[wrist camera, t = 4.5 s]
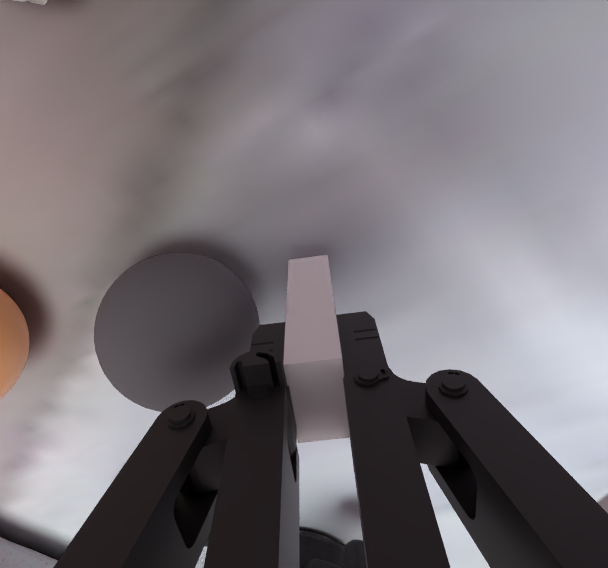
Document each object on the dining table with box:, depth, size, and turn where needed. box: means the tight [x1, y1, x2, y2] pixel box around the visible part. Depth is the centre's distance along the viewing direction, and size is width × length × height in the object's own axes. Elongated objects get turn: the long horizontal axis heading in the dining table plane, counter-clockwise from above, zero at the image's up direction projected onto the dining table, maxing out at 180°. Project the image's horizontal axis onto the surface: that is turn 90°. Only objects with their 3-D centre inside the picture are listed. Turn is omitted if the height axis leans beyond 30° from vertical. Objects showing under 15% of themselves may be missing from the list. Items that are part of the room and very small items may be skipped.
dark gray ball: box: [94, 252, 260, 412], centre depth 17 cm, size 6×6×6 cm
